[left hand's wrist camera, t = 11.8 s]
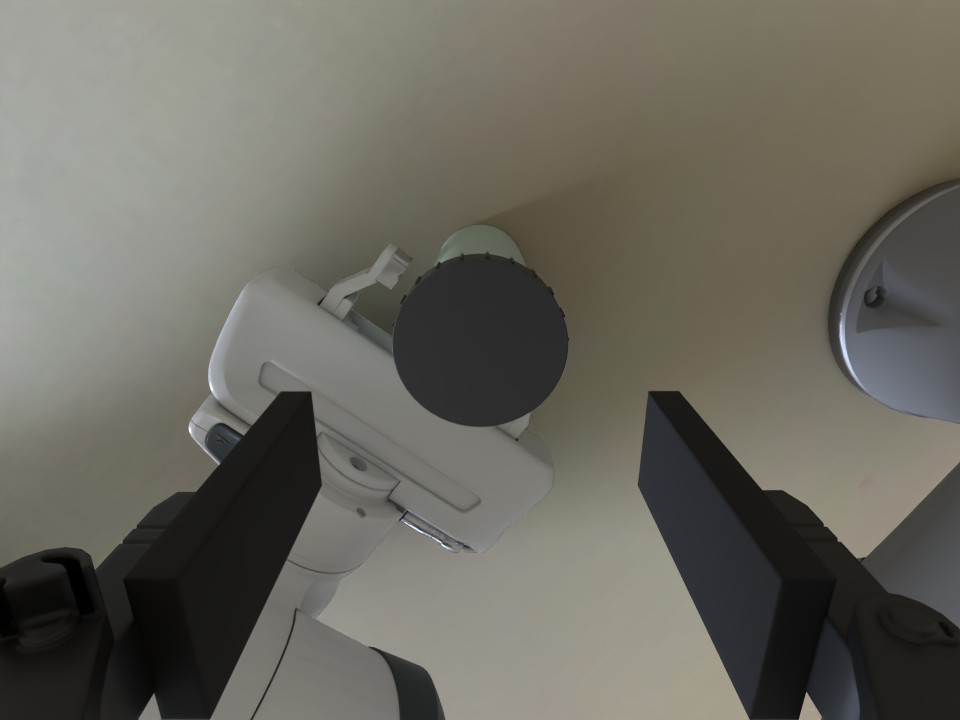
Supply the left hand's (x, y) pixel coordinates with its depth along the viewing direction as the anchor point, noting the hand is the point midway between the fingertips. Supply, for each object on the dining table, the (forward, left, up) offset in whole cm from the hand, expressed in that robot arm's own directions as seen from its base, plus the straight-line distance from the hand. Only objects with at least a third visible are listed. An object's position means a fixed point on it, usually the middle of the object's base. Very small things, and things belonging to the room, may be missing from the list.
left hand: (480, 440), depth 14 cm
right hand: (+1, 0, -17) cm, 17 cm away
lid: (0, 0, -8) cm, 8 cm away
